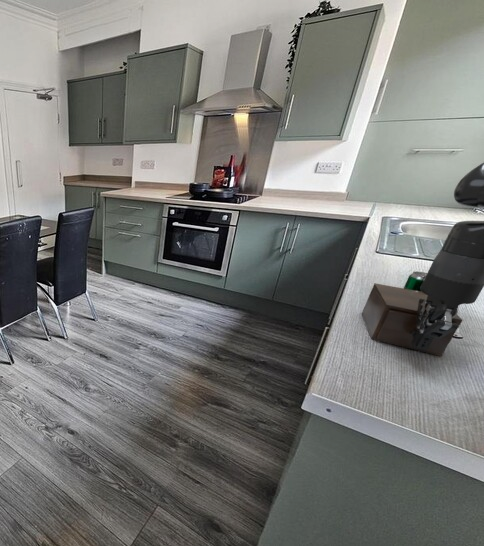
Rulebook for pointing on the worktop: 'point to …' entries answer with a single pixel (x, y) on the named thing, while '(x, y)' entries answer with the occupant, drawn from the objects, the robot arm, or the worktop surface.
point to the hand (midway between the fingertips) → (418, 347)
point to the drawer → (407, 331)
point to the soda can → (415, 281)
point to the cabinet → (392, 307)
